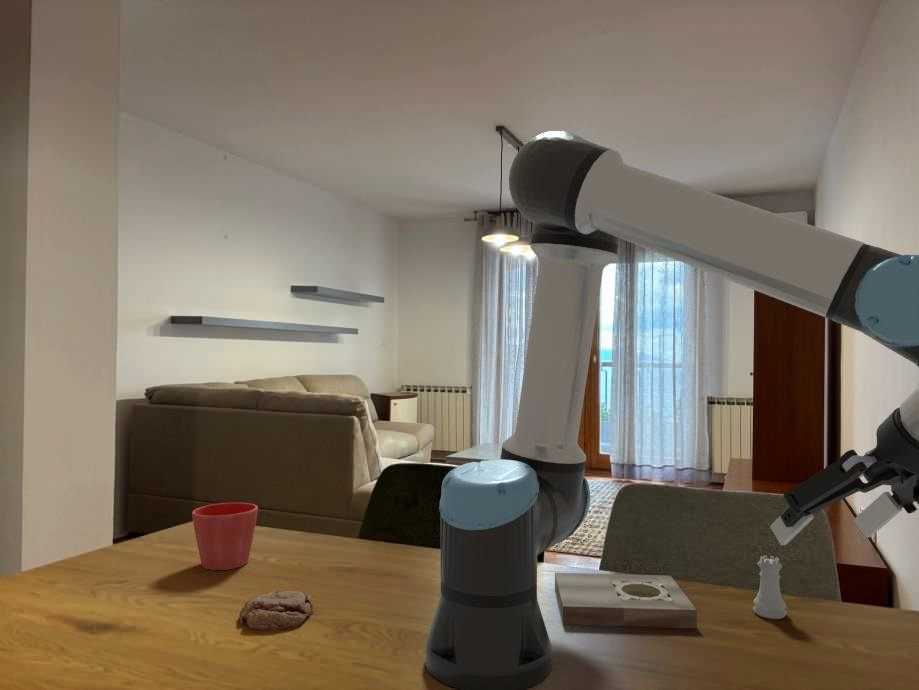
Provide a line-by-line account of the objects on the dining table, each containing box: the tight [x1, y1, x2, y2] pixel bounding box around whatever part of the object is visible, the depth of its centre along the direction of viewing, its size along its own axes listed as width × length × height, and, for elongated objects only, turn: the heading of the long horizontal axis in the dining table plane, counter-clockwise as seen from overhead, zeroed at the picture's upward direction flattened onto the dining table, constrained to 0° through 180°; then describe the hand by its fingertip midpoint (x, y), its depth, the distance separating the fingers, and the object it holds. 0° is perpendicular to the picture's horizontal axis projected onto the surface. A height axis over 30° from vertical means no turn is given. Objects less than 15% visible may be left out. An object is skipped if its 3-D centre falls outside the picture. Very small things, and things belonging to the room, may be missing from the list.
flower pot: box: [191, 502, 259, 571], centre depth 117 cm, size 11×11×10 cm
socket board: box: [554, 572, 698, 630], centre depth 98 cm, size 14×18×2 cm
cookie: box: [238, 590, 314, 632], centre depth 94 cm, size 10×11×3 cm
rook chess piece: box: [752, 555, 788, 620], centre depth 95 cm, size 4×4×8 cm
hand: (820, 531), depth 87 cm, fingers open, 13 cm apart
